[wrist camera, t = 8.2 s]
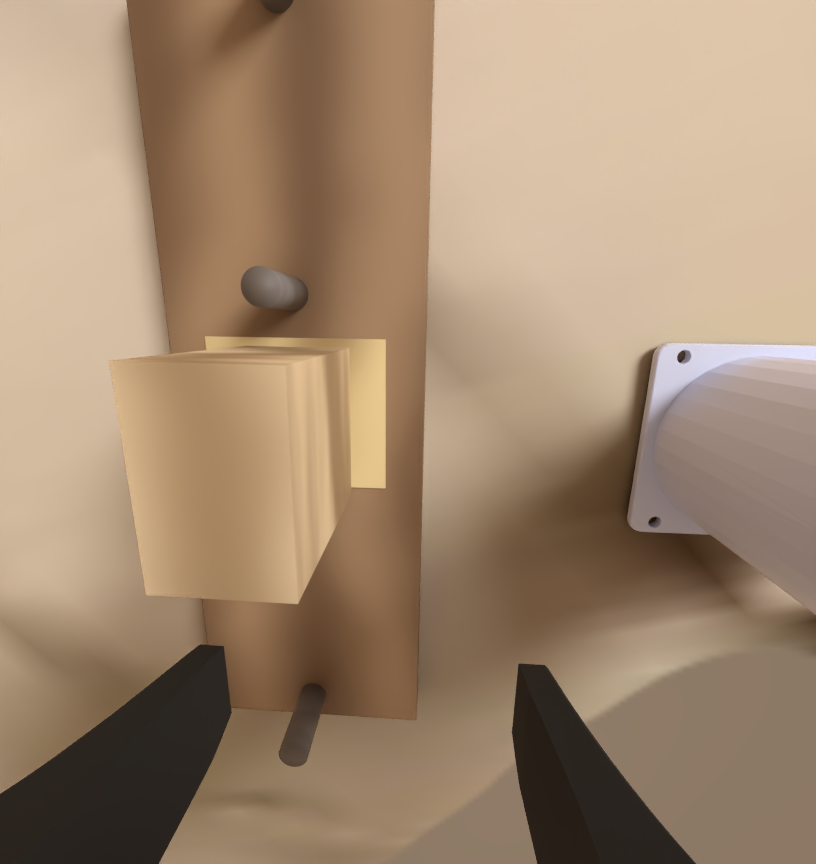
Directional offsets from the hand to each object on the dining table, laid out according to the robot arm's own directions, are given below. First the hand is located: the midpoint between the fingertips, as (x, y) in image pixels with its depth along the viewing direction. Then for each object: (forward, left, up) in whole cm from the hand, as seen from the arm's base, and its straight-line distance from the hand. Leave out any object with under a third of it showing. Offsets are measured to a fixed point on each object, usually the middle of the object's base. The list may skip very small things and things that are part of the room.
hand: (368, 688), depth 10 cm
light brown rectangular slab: (+4, -5, -8) cm, 10 cm away
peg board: (+4, -5, -9) cm, 11 cm away
